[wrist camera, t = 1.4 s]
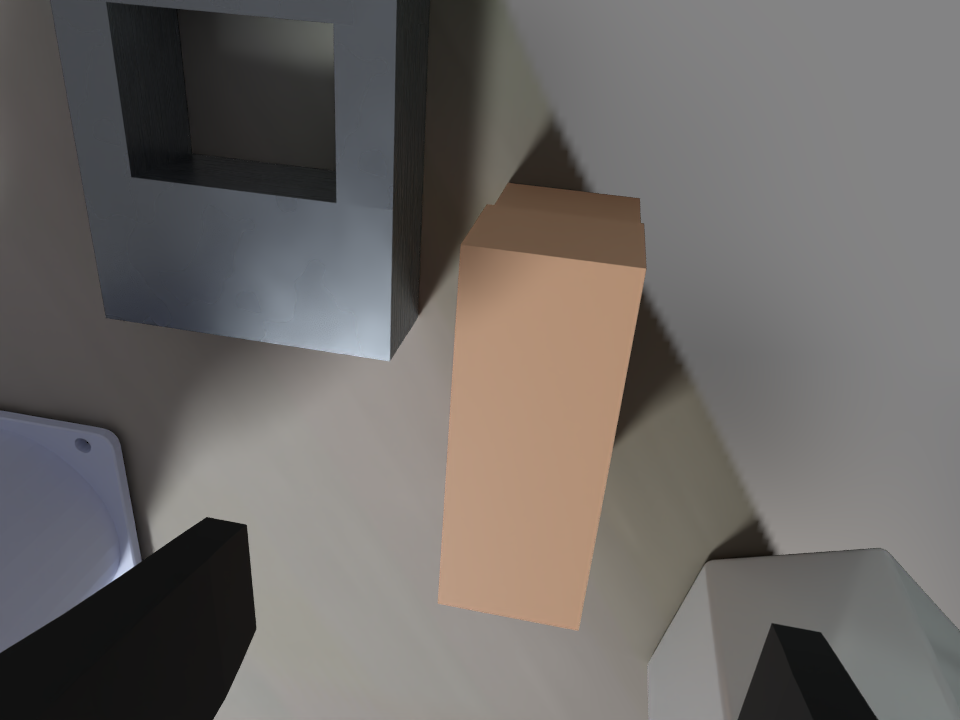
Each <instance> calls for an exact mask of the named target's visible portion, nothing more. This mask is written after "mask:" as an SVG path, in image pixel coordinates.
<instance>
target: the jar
mask: <svg viewBox="0 0 960 720" xmlns="http://www.w3.org/2000/svg"><path fill="white" fill-rule="evenodd" d="M771 623H774V624H780V625H785V626H790V627H796V628H801V629H806V630H812V631H817V632H821V633H822V634H823V636H824V637H825V639H826V640H827V641H828V643H829V645H830V646H831V648H832V649H833V651H834V652H835V654H836V655H837V657H838V658H839V660H840V661H841V663H842V665H843V666H844V668H845V669H846V671H847V672H848V674H849V675H850V677H851V679H852V680H853V682H854V683H855V685H856V686H857V688H858V689H859V691H860V693H861V694H862V696H863V697H864V699H865V700H866V702H867V703H868V705H869V706H870V708H871V709H872V711H873V712H874V714H875V715H876V717H877V718H878V720H960V631H959V629H957V627H956V626H955V625H954V624H953V623H952V622H951V621H950V620H949V618H948V617H947V616H946V615H945V614H944V613H943V612H942V611H941V610H940V609H939V608H938V606H937V605H936V604H935V603H934V602H933V601H932V600H931V599H930V597H929V596H928V595H927V594H926V593H925V592H924V591H923V590H922V589H921V588H920V587H919V585H918V584H917V583H916V582H915V581H914V580H913V579H912V578H911V576H910V575H909V574H908V573H907V572H906V571H905V570H904V569H903V568H902V566H901V565H900V564H899V563H898V562H897V561H896V560H895V559H894V557H893V556H892V555H891V554H890V553H889V552H888V551H886V550H884V549H881V548H873V549H858V550H844V551H831V552H830V551H829V552H816V553H803V554H788V555H774V556H760V557H746V558H732V559H718V560H710V561H708V562H707V563H706V564H705V565H704V566H703V568H702V570H701V571H700V573H699V575H698V576H697V578H696V580H695V582H694V583H693V585H692V587H691V589H690V590H689V592H688V594H687V596H686V597H685V599H684V601H683V603H682V604H681V606H680V608H679V610H678V611H677V613H676V615H675V617H674V618H673V620H672V622H671V624H670V625H669V627H668V629H667V631H666V632H665V634H664V636H663V638H662V639H661V641H660V643H659V645H658V646H657V648H656V650H655V652H654V653H653V655H652V657H651V659H650V660H649V662H648V666H647V673H648V720H738V717H739V714H740V711H741V708H742V705H743V703H744V700H745V697H746V694H747V691H748V688H749V686H750V683H751V680H752V677H753V674H754V672H755V669H756V666H757V663H758V660H759V657H760V655H761V652H762V649H763V646H764V643H765V640H766V638H767V635H768V632H769V629H770V626H771Z"/></svg>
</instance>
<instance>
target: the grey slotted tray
mask: <svg viewBox="0 0 960 720" xmlns="http://www.w3.org/2000/svg"><path fill="white" fill-rule="evenodd" d="M50 2H51V7H52V13H53V19H54V24H55V30H56V36H57V42H58V47H59V53H60V59H61V64H62V70H63V76H64V81H65V87H66V93H67V98H68V104H69V110H70V116H71V121H72V127H73V133H74V138H75V144H76V150H77V155H78V161H79V167H80V172H81V178H82V184H83V190H84V195H85V201H86V207H87V212H88V218H89V224H90V229H91V235H92V241H93V246H94V252H95V258H96V263H97V269H98V275H99V281H100V286H101V292H102V298H103V303H104V309H105V315H106V318H110V319H117V320H123V321H130V322H136V323H143V324H149V325H156V326H162V327H169V328H176V329H182V330H189V331H195V332H202V333H208V334H215V335H221V336H228V337H234V338H241V339H248V340H254V341H261V342H267V343H274V344H280V345H287V346H293V347H300V348H307V349H313V350H320V351H326V352H333V353H339V354H346V355H352V356H359V357H366V358H372V359H379V360H385V361H390V360H391V359H392V357H393V356H394V354H395V352H396V351H397V349H398V348H399V346H400V345H401V343H402V341H403V340H404V338H405V337H406V335H407V334H408V332H409V331H410V329H411V327H412V326H413V324H414V323H415V321H416V320H417V318H418V299H419V273H420V246H421V219H422V193H423V166H424V139H425V112H426V86H427V59H428V32H429V6H430V0H50ZM177 9H186V10H197V11H207V12H218V13H228V14H239V15H250V16H260V17H271V18H282V19H292V20H303V21H313V22H324V23H334V78H335V138H336V171H332V170H324V169H315V168H307V167H299V166H290V165H282V164H274V163H265V162H257V161H249V160H240V159H232V158H224V157H216V156H207V155H199V154H192V150H191V141H190V131H189V122H188V112H187V103H186V93H185V84H184V74H183V65H182V55H181V46H180V36H179V27H178V17H177Z"/></svg>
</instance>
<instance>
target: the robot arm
mask: <svg viewBox="0 0 960 720" xmlns="http://www.w3.org/2000/svg"><path fill="white" fill-rule="evenodd" d="M84 439H85V440H86V441H87V442H89V444H88V443H87V442H86V441H85V440H84ZM255 631H256V619H255V608H254V597H253V587H252V576H251V565H250V554H249V544H248V533H247V525H246V524H240V523H235V522H230V521H224V520H219V519H214V518H208V517H206V518H205V519H203V520H202V521H200V522H199V523H197V524H196V525H194V526H193V527H191V528H190V529H188V530H187V531H185V532H184V533H182V534H181V535H179V536H178V537H176V538H175V539H173V540H172V541H171V542H169V543H168V544H166V545H165V546H163V547H162V548H160V549H159V550H158V551H156V552H155V553H153V554H152V555H150V556H149V557H147V558H146V559H144V560H143V561H142V560H141V554H140V549H139V543H138V538H137V532H136V527H135V521H134V516H133V510H132V505H131V499H130V494H129V488H128V483H127V477H126V472H125V466H124V461H123V455H122V450H121V444H120V442H119V439H118V438H117V437H116V435H115V434H114V433H112V432H111V431H110V430H107V429H104V428H99V427H94V426H88V425H82V424H76V423H71V422H65V421H59V420H53V419H47V418H42V417H36V416H30V415H24V414H19V413H13V412H7V411H1V410H0V720H213V719H214V717H215V715H216V714H217V712H218V710H219V708H220V707H221V705H222V703H223V701H224V700H225V698H226V696H227V694H228V692H229V689H230V687H231V685H232V683H233V681H234V679H235V677H236V674H237V672H238V670H239V668H240V666H241V663H242V661H243V659H244V656H245V654H246V652H247V649H248V647H249V645H250V643H251V640H252V638H253V636H254V633H255ZM738 720H878V718H877V717H876V715H875V714H874V712H873V711H872V709H871V708H870V706H869V705H868V703H867V702H866V700H865V699H864V697H863V696H862V694H861V693H860V691H859V689H858V688H857V686H856V685H855V683H854V682H853V680H852V679H851V677H850V675H849V674H848V672H847V671H846V669H845V668H844V666H843V665H842V663H841V661H840V660H839V658H838V657H837V655H836V654H835V652H834V651H833V649H832V648H831V646H830V645H829V643H828V641H827V640H826V639H825V637H824V636H823V634H822V633H821V632H817V631H812V630H806V629H801V628H796V627H790V626H785V625H780V624H774V623H771V626H770V629H769V632H768V635H767V638H766V640H765V643H764V646H763V649H762V652H761V655H760V657H759V660H758V663H757V666H756V669H755V672H754V674H753V677H752V680H751V683H750V686H749V688H748V691H747V694H746V697H745V700H744V703H743V705H742V708H741V711H740V714H739V717H738Z"/></svg>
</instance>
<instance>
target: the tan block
mask: <svg viewBox="0 0 960 720" xmlns="http://www.w3.org/2000/svg"><path fill="white" fill-rule="evenodd" d="M640 219H641V217H640V199H639V198H632V197H623V196H615V195H607V194H599V193H590V192H582V191H573V190H565V189H557V188H548V187H540V186H531V185H523V184H514V183H508V184H507V185H506V187H505V189H504V190H503V192H502V194H501V195H500V197H499V198H498V200H497V202H496V203H495V205H489V204H487V205H486V206H485V208H484V209H483V211H482V212H481V214H480V216H479V217H478V219H477V220H476V222H475V223H474V225H473V226H472V228H471V229H470V231H469V232H468V234H467V236H466V237H465V239H464V240H463V242H462V243H461V247H460V263H459V278H458V294H457V310H456V326H455V341H454V357H453V373H452V389H451V404H450V420H449V436H448V452H447V467H446V483H445V499H444V515H443V530H442V546H441V562H440V577H439V593H438V604H442V605H448V606H453V607H458V608H463V609H468V610H474V611H479V612H484V613H489V614H494V615H500V616H505V617H510V618H515V619H520V620H526V621H531V622H536V623H541V624H546V625H552V626H557V627H562V628H567V629H572V630H578V631H579V626H580V620H581V615H582V610H583V604H584V599H585V594H586V588H587V583H588V578H589V572H590V567H591V562H592V556H593V551H594V546H595V540H596V535H597V530H598V524H599V519H600V514H601V508H602V503H603V498H604V492H605V487H606V482H607V476H608V471H609V466H610V460H611V455H612V450H613V444H614V439H615V434H616V428H617V423H618V418H619V412H620V407H621V402H622V396H623V391H624V386H625V380H626V375H627V370H628V364H629V359H630V354H631V348H632V343H633V337H634V332H635V327H636V321H637V316H638V311H639V305H640V300H641V295H642V289H643V284H644V279H645V273H646V252H645V233H644V224H643V223H641V220H640Z"/></svg>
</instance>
